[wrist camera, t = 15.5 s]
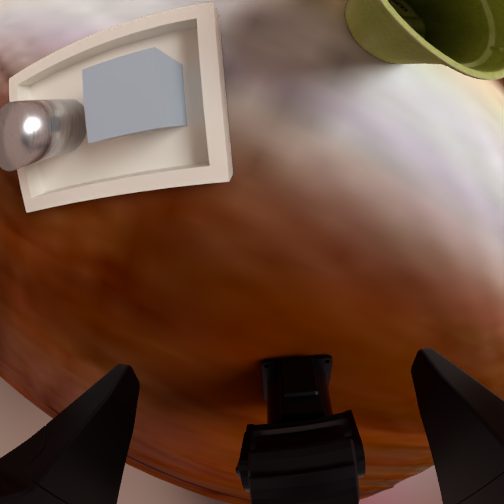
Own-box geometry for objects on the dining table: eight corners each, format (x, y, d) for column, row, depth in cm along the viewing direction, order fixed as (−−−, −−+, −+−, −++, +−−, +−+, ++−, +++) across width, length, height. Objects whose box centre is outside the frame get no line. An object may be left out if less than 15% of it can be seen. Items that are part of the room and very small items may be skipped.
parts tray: (233, 173, 18) (229, 181, 16) (44, 202, 19) (26, 212, 17) (219, 15, 13) (213, 1, 11) (28, 78, 14) (9, 78, 12)
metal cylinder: (91, 145, 17) (35, 161, 11) (51, 158, 17) (-4, 177, 11) (85, 91, 15) (27, 90, 9) (45, 108, 15) (-12, 115, 10)
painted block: (187, 125, 16) (160, 127, 12) (128, 135, 16) (88, 143, 12) (182, 64, 14) (154, 47, 10) (123, 78, 15) (82, 69, 10)
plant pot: (413, 113, 16) (498, 122, 8) (294, 36, 14) (319, -22, 6) (454, 28, 12) (529, 9, 4) (350, -46, 10) (391, -106, 3)
